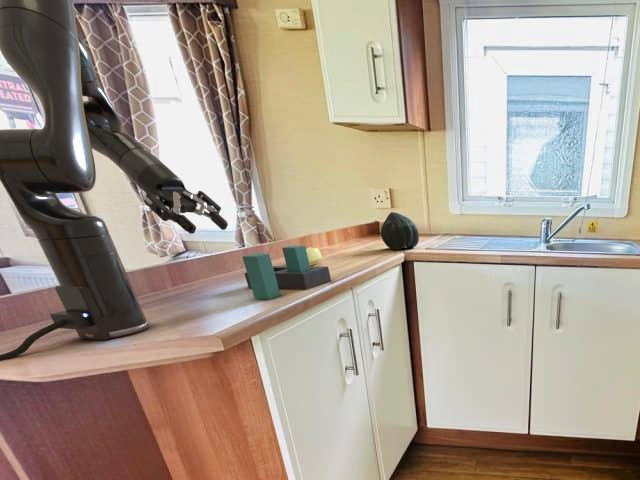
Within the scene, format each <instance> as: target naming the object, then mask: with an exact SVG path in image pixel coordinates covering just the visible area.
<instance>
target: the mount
mask: <svg viewBox="0 0 640 480" xmlns="http://www.w3.org/2000/svg"><path fill="white" fill-rule="evenodd" d="M272 266H273V269H274V273H275V277H276V280H277V284H278V287H279V290H309V289H312V288H315V287H317V286H321V285H323V284H327V283H330V282H332V278H331V273H330V268H329V266H325V265H324V266H318V265H317V266H316V265H315V266H313V265H311V266H310V270H306V271H303V272H288V269H287V266H280V265H272ZM243 274H244V277H245V281H246V284H247V288H248V289H252V287H251V284H250V281H249V277H248V274H247V272H244V273H243Z"/></svg>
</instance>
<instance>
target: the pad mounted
mask: <svg viewBox="0 0 640 480" xmlns="http://www.w3.org/2000/svg"><path fill="white" fill-rule="evenodd" d="M281 249H282V253H283V258H284V261H285V264H286V265H287V269H288V272H303V271H306V270H310V264H309V260H308V256H307V252H306V249H307V248H306V245H289V246H284V247H281Z"/></svg>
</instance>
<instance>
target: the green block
mask: <svg viewBox="0 0 640 480" xmlns="http://www.w3.org/2000/svg"><path fill="white" fill-rule="evenodd" d="M241 257H242V260H243V264H244V268H245V270H246V273H247V274H248V277H249V281H250V284H251V287H252V288H251V290H252V293H253V297H254V299H255V300H271V299H275V298H278V297H281V296H282V295H281V291H280V289H279V287H278V284H277V280H276V277H275V273H274V269H273V266H274V265H273V263H272V259H271V255H270V253H252V254H248V255H247V254H246V255H242V256H241Z"/></svg>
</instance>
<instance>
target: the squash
mask: <svg viewBox="0 0 640 480" xmlns="http://www.w3.org/2000/svg"><path fill="white" fill-rule="evenodd" d="M380 237H381V239H382V242H383V243H384V244H385V246H386V247H387V248H389V249H390V250H401V249H403V248H408V249H413V248H415V247H416V246H417V245H418V243H419V241H420V234H419V230H418V227H417V226H416V223H414V222H413V220H412V219H410V218H409V217H408V216H406V215H403V214H401V213H398V212H395V211H391V212H390V213H388V215H387V217H386V218H385V220H384V222H383V223H382V225H381V228H380Z"/></svg>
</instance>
